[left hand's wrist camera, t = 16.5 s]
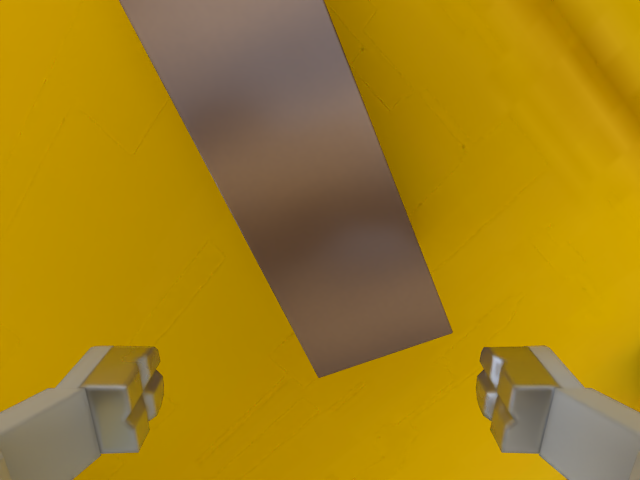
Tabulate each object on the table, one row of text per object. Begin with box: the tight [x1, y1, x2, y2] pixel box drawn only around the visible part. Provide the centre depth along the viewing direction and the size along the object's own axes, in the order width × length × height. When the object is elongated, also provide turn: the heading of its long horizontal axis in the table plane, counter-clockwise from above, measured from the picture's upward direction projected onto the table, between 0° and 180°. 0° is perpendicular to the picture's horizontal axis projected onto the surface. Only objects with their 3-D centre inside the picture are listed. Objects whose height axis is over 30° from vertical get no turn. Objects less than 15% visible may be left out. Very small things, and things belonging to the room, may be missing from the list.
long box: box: [119, 0, 453, 378], centre depth 19 cm, size 22×6×10 cm, turn 24°
